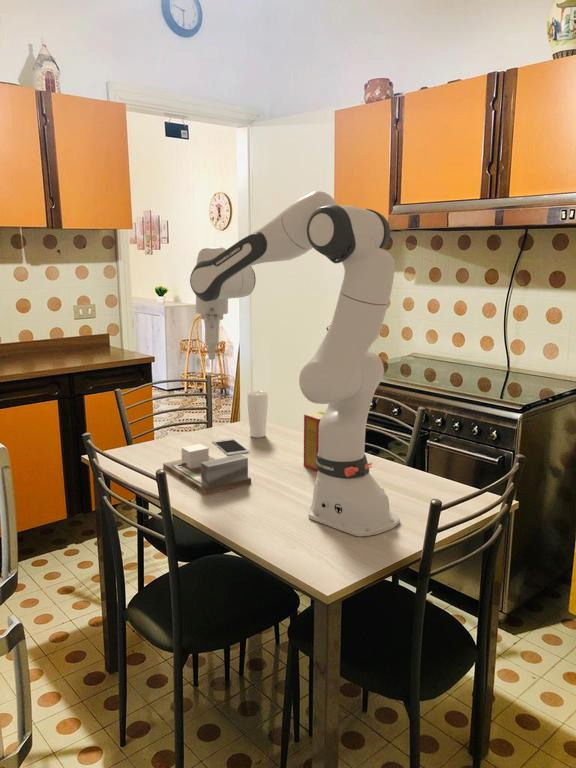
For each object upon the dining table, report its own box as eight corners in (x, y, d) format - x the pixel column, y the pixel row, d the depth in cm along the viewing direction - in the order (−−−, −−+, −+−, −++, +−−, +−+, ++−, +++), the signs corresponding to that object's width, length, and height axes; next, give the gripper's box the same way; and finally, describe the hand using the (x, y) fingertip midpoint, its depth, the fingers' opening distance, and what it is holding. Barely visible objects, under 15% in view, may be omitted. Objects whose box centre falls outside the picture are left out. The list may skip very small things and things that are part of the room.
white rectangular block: (208, 464, 181) (208, 448, 180) (182, 470, 176) (181, 453, 175) (200, 460, 185) (199, 443, 184) (174, 465, 180) (173, 449, 179)
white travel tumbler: (259, 431, 219) (259, 389, 216) (271, 436, 214) (271, 393, 211) (243, 435, 215) (243, 392, 212) (256, 440, 210) (255, 396, 207)
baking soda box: (317, 472, 180) (318, 418, 177) (303, 465, 185) (304, 413, 182) (342, 465, 186) (343, 413, 182) (328, 459, 191) (329, 408, 187)
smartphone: (232, 440, 211) (232, 437, 211) (249, 453, 197) (249, 451, 197) (212, 443, 208) (212, 440, 208) (227, 457, 194) (227, 454, 194)
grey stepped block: (251, 483, 171) (250, 457, 170) (205, 495, 163) (205, 467, 162) (205, 458, 191) (205, 435, 189) (163, 468, 183) (162, 443, 181)
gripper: (224, 311, 165) (223, 363, 169) (222, 302, 185) (222, 349, 188) (199, 311, 164) (199, 363, 168) (201, 302, 184) (201, 348, 187)
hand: (211, 355), depth 178 cm, fingers open, 8 cm apart
